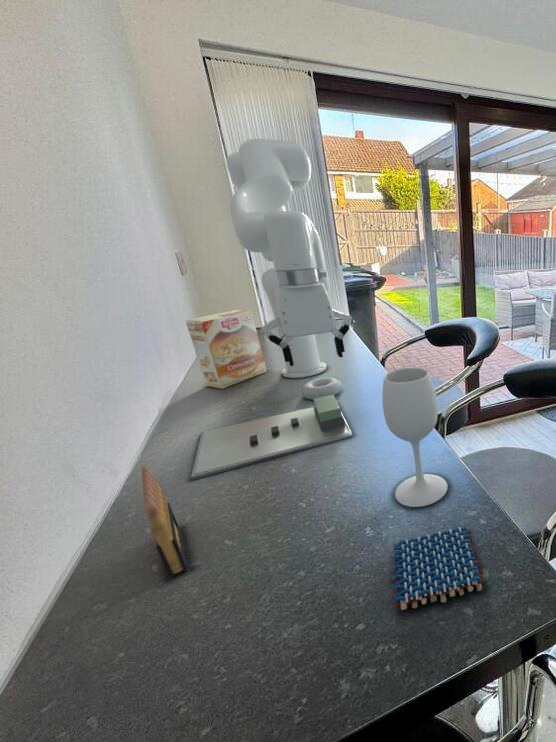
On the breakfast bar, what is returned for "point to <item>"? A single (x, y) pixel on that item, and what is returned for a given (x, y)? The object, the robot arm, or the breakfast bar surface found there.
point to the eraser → (328, 412)
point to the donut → (321, 388)
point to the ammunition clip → (163, 525)
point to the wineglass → (413, 429)
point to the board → (261, 441)
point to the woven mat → (435, 567)
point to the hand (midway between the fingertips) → (316, 359)
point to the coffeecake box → (227, 347)
